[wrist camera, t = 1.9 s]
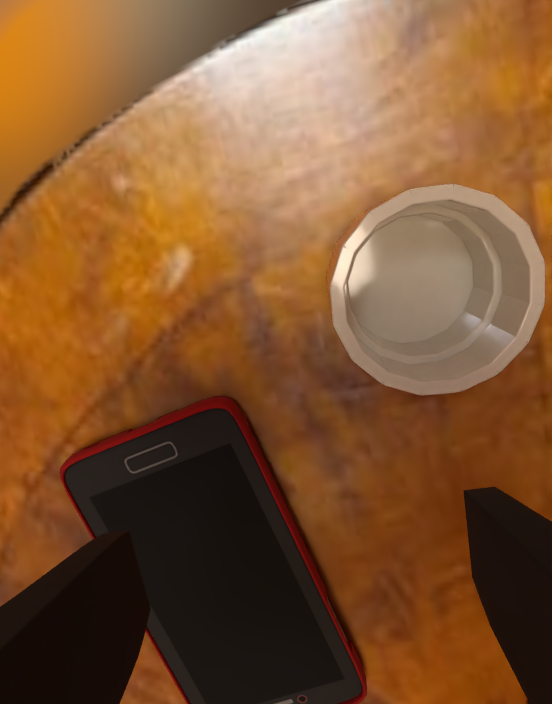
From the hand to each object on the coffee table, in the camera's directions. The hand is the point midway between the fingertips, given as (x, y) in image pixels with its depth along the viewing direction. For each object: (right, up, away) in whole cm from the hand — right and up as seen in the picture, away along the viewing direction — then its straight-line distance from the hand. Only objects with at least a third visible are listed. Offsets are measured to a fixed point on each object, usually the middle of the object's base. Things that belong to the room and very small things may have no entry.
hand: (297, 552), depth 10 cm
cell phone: (-3, -5, +11) cm, 12 cm away
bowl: (+4, +7, +7) cm, 11 cm away
